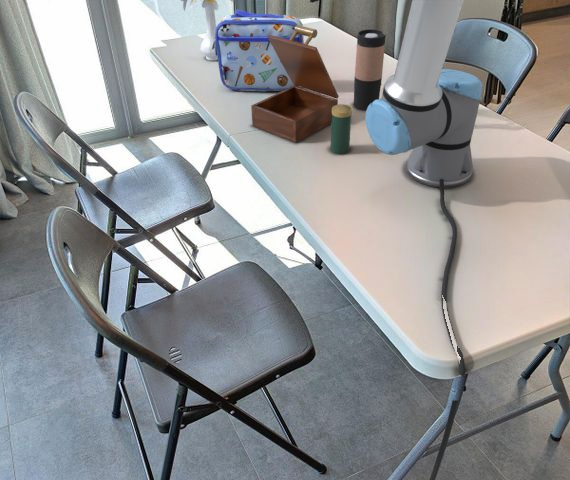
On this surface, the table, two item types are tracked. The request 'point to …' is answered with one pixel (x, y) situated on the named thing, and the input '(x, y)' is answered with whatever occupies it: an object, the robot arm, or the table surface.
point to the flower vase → (207, 43)
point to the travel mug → (368, 67)
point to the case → (293, 113)
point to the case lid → (303, 62)
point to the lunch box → (253, 50)
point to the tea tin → (340, 128)
